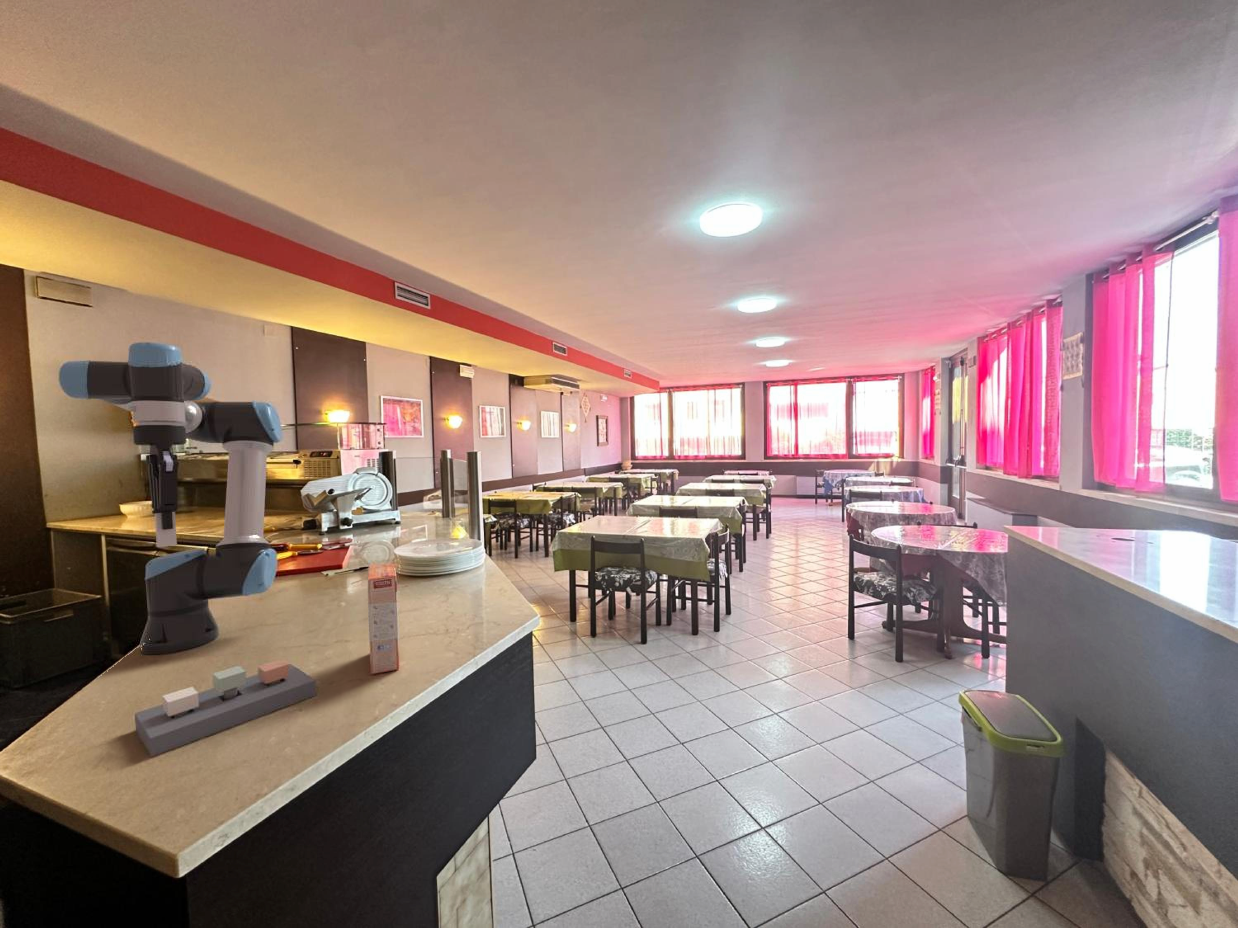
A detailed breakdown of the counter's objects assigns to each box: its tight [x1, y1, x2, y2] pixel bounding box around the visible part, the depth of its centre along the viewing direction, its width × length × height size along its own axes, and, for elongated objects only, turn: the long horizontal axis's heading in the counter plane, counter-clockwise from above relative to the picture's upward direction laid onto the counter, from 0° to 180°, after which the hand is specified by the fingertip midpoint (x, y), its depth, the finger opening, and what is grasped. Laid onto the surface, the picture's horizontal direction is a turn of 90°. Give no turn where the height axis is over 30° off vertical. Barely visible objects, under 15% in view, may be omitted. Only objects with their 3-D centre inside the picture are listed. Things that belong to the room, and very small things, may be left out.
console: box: [134, 663, 317, 757], centre depth 93 cm, size 13×24×3 cm, turn 142°
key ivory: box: [162, 686, 199, 718], centre depth 87 cm, size 4×4×5 cm
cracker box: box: [367, 563, 400, 675], centre depth 113 cm, size 14×6×21 cm, turn 26°
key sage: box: [212, 665, 247, 701], centre depth 92 cm, size 4×4×5 cm
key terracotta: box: [257, 659, 290, 686], centre depth 98 cm, size 4×4×5 cm
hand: (166, 545), depth 97 cm, fingers closed
